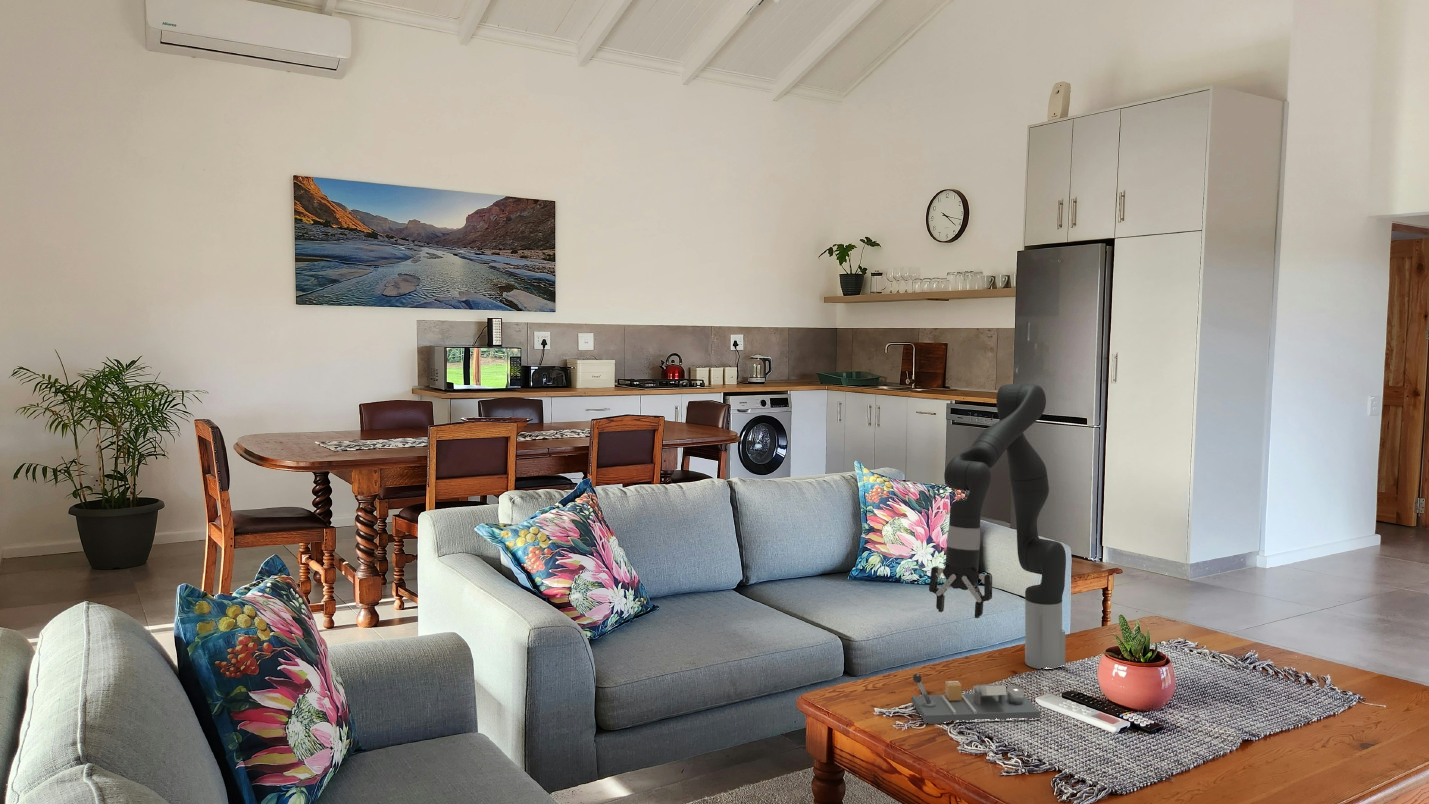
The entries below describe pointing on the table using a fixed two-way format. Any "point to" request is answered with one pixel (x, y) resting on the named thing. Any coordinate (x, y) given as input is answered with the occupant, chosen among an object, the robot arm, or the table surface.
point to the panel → (972, 708)
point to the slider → (953, 690)
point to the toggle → (921, 687)
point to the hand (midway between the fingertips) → (958, 614)
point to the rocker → (991, 689)
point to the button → (1015, 694)
